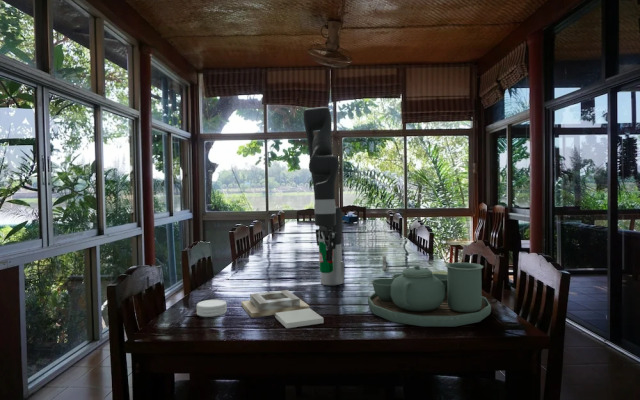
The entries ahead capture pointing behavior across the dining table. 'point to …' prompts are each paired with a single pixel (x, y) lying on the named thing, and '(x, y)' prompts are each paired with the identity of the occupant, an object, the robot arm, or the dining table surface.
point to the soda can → (324, 259)
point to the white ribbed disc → (211, 308)
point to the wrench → (384, 262)
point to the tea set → (432, 296)
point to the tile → (298, 318)
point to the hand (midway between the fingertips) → (326, 259)
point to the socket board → (269, 312)
